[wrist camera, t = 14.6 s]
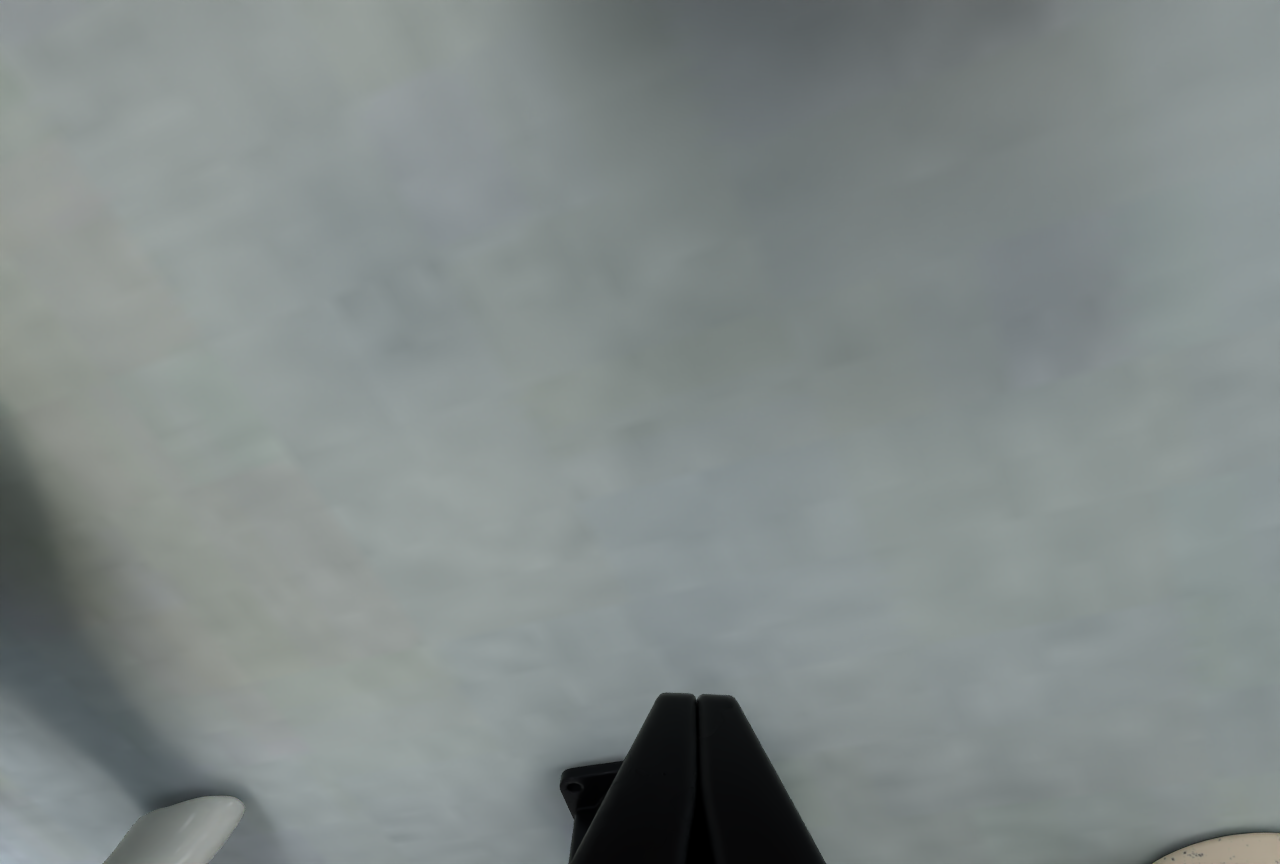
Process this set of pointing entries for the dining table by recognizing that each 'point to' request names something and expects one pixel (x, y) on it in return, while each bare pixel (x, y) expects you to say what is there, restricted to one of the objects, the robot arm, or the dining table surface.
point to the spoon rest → (180, 832)
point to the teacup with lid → (1229, 850)
